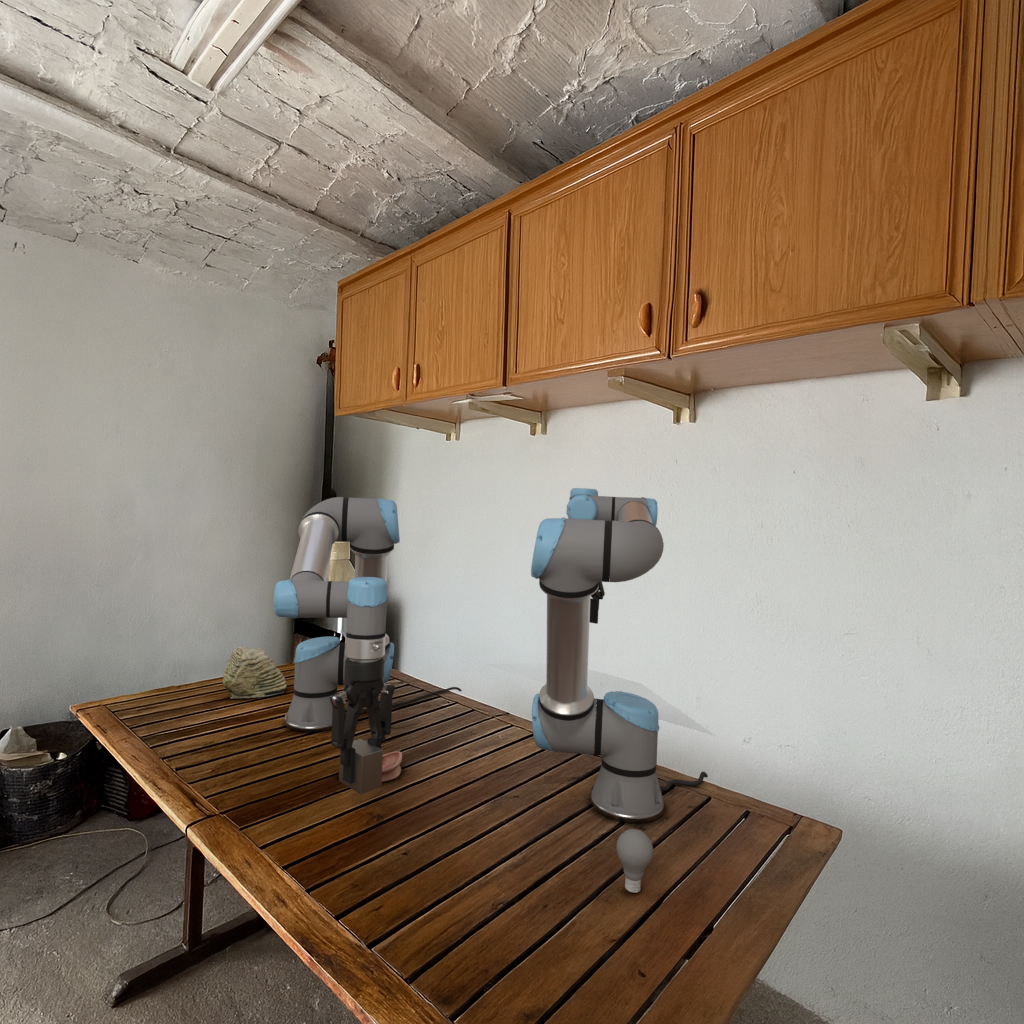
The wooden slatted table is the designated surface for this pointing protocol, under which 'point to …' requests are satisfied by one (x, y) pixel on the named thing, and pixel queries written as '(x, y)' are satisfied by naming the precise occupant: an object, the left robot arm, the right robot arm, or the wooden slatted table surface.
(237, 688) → the fossil
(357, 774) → the brick
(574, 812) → the wooden slatted table surface
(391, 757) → the anatomical model
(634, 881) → the light bulb
